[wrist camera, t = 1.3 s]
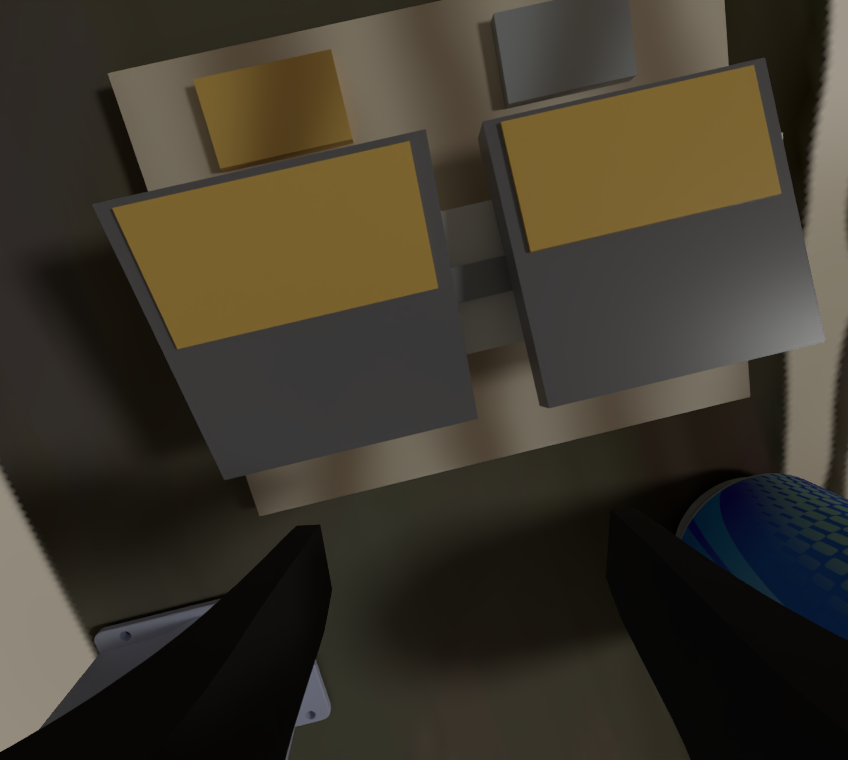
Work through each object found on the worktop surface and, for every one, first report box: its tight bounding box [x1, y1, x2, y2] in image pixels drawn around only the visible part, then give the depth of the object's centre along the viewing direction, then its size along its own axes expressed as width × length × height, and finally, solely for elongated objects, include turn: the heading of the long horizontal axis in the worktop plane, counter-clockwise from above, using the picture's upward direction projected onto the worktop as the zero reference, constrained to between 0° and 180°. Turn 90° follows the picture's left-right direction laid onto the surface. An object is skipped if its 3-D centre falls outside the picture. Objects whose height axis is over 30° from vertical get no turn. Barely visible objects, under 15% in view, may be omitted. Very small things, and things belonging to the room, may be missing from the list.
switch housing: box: [441, 133, 783, 354], centre depth 17 cm, size 22×5×4 cm, turn 103°
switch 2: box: [478, 58, 826, 408], centre depth 14 cm, size 9×9×1 cm
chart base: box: [108, 0, 750, 516], centre depth 18 cm, size 23×18×2 cm
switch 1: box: [92, 129, 478, 480], centre depth 14 cm, size 9×9×1 cm
